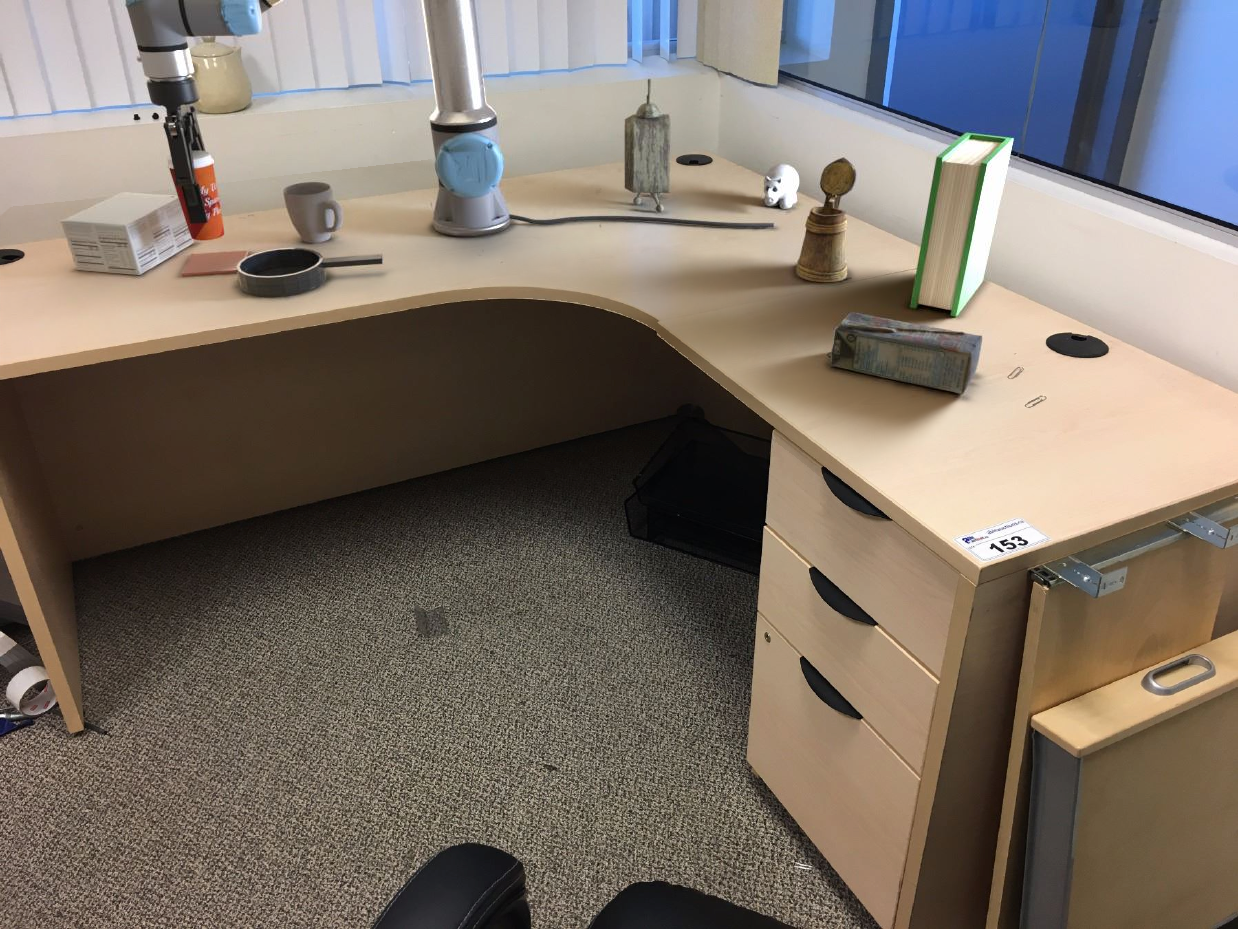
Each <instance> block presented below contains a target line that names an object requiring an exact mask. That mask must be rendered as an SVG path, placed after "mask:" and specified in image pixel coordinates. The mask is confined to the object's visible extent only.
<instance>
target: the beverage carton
mask: <svg viewBox="0 0 1238 929" xmlns="http://www.w3.org/2000/svg"><path fill="white" fill-rule="evenodd" d="M982 343H983V335H981V334H980V335H978V334H973V333H969V332H964V331H956V330H952V329H944V328H939V327H934V326H929V325H923V324H918V323H917V324H916V323H911V322H907V321H906V322H905V321H900V320H896V319H891V318H886V317H885V318H884V317H879V316H874V315H869V314H864V313H861V312H860V313H859V312H855V311H851V312H850V313H848V315H847V316H846V317H845V318H844V319H843V320H842V321H841V322H840V323H839V324H838V325H837V327H835V329H834V331H833V342H832V347H831V353H830V366H831V367H836V368H841V369H844V370H850V371H854V372H858V373H861V374H866V375H869V376H870V375H871V376H876V377H880V378H884V379H889V380H895V381H899V382H905V383H910V384H914V385H920V386H924V387H928V388H933V389H939V390H942V391H947V392H952V393H955V394H959V395H963V394H964V393H965V391H966V390H967V388H968V386H969V384H970V383H971V381H972V380H973V378H974V376H975V375H976V372H977V368H978V365H979V362H980V355H981V351H982Z"/></svg>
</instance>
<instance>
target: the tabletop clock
mask: <svg viewBox="0 0 1238 929" xmlns="http://www.w3.org/2000/svg"><path fill="white" fill-rule="evenodd" d="M651 93H652V79H650V78H648V79H647V95H646V103H642V104H640V105H639V107H638V108H637V110H636V113H635V114H634V113H633V114H631V115H630V116H628V117H626V118H625V119H624V189H626V190H627V191H629V192H631V193H633V194H636V197H634V198H633V201H632V202H633V204H634V206H635V205H636V206H639V205H640V204H641V202H642V200H641V195H642V194H650V195H651V196H652V197H653V200H654V201H655V204H656V206H655V210H656V212H658V213H662V212H663V211H664V209H665V207H664V205H663V204H661V203H660V200H659V198H660V197H662V196H663V194H669V193H670V172H671V170H670V169H671V117H670V114H669V113H665V114H664V113H663V112H662V110H661V108H660V106H659V105H658V104H656V103H653V96H652V94H651Z"/></svg>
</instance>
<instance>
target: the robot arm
mask: <svg viewBox="0 0 1238 929" xmlns="http://www.w3.org/2000/svg"><path fill="white" fill-rule="evenodd" d="M283 1H284V0H125V8H126V9H127V13H128V17H129V20H130V24H131V28H132V31H133V35H134V38H135V44H136V46H137V50H138V55H137V56H136V61H137V62H138V63H141V66H142V70H143V75H144V76H145V77H146V78H148V79H147V80H146V83H145V84H146V87H147V88H146V89H147V91H148V95H149V99H150V102H151V103H152V104H153V105H154V106H157V107H164V108H165V112H166V116H164V121H165V122H163V124H162V127H163V129H164V132H165V135H166V139H167V144H168V149H169V153H170V154H169V155H171V158H172V163H173V168H174V173H175V177H176V182H175V185H174V187H175V186H176V187H179V186H181V188H182V192H183V196H184V200H185V204H186V208H187V212H188V216H189V220H190V224H195V223H207V222H208V220H207V216H206V212H205V208H204V203H203V199H202V195H201V191H200V187H199V184H197V181H196V176H195V169H194V162H193V155H192V151H206V147H205V144H204V140H203V136H202V133H201V128H200V125H199V120H198V117H197V109H196V107H195V105H192V104H196V103H198V102H199V101H200V98H201V96H200V92H199V87H198V83H197V79H196V78H195V77H194V76H193V74H194V73H195V68H194V64H193V60H192V55H191V52H190V47H189V44H188V40H187V37H188V38H196V37H238V38H241V37H243V36H253V35H254V36H255V35H258V34H260V33H261V31H262V28H263V17H262V16H263V15H262V14H263V13H265V12H267V11H268V10H270V9H271V8H273V7H275V6H276V5H277V4H279V3H280V2H283ZM421 6H422V13H423V14H422V15H423V19H424V26H425V35H426V42H427V49H428V54H429V62H430V69H431V75H432V84H433V91H434V96H435V104H436V106H435V107H433V108H432V109H431V115H430V116H429V123H430V124H429V125H430V131H431V139H432V144H433V153H434V159H435V161H434V168H435V169H434V170H435V173H436V176H437V180H438V191H437V197H436V201H435V205H434V209H433V203H432V200H431V199H430V201H429V202H430V206H431V210H433V216H432V222H433V229H435V231H437V232H438V233H440V234H443V235H448V236H451V237H453V236H454V237H463V238H464V237H465V238H466V237H467V238H468V237H482V236H488V235H493V234H497V233H499V232H502V231H504V230H506V229H507V228H509V227H510V225H511V220H513V221H514V220H515V221H520V222H524V223H528V224H533V225H555V224H560V223H562V224H563V223H568V222H584V221H635V222H655V223H666V224H680V225H691V226H707V227H720V228H775V227H774V226H775V224H774V222H725V221H724V222H723V221H710V220H708V221H706V220H693V219H682V218H669V217H653V216H638V215H637V216H636V215H586V216H569V217H568V216H567V217H561V218H559V217H558V218H552V219H534V218H529V217H526V216H520V215H515V214H511V212H510V210H509V207H508V204H507V202H506V199H505V197H504V195H503V192H502V189H501V187H500V182H501V179H502V177H503V173H504V168H505V160H504V156H503V154H502V151H501V144H500V134H499V128H498V127H499V126H498V117H497V112H496V111H495V110H494V109H493V106H491V105H490V104H488V103H487V97H486V88H485V80H484V72H483V61H482V53H481V46H480V45H481V44H480V37H479V27H478V19H477V18H478V17H477V10H476V1H475V0H421ZM183 177H186V178H183Z"/></svg>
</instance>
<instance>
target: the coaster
mask: <svg viewBox="0 0 1238 929" xmlns="http://www.w3.org/2000/svg"><path fill="white" fill-rule="evenodd" d="M248 256H249V250H237V251H235V250H234V251H221V252H206V253H205V252H204V253H194V254H193V253H192V254H190V256H189V258H188V260H187V262H186V264H185V265H184V267H183V269H182V271H181V273H180V276H181V277H192V276H194V277H195V276H206V275H221V274H222V275H223V274H235V273H237V270H236V266H237V264H238V262H240V261H241V260H242V259H244V258H246V257H248Z"/></svg>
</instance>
